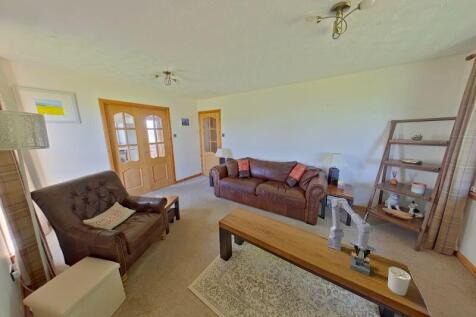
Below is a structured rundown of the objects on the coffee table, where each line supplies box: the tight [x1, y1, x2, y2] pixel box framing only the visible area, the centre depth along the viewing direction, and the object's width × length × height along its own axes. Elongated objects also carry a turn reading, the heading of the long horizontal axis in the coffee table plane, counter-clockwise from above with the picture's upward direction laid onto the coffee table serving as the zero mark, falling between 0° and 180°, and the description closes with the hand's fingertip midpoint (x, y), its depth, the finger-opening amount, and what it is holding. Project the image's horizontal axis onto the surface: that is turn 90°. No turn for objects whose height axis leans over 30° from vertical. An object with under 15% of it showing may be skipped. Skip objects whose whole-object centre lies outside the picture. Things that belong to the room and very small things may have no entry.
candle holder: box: [387, 266, 412, 297], centre depth 102 cm, size 10×10×12 cm
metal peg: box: [357, 247, 366, 262], centre depth 118 cm, size 4×4×8 cm
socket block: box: [349, 251, 371, 277], centre depth 120 cm, size 11×12×6 cm
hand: (360, 256), depth 118 cm, fingers closed on metal peg, 4 cm apart
